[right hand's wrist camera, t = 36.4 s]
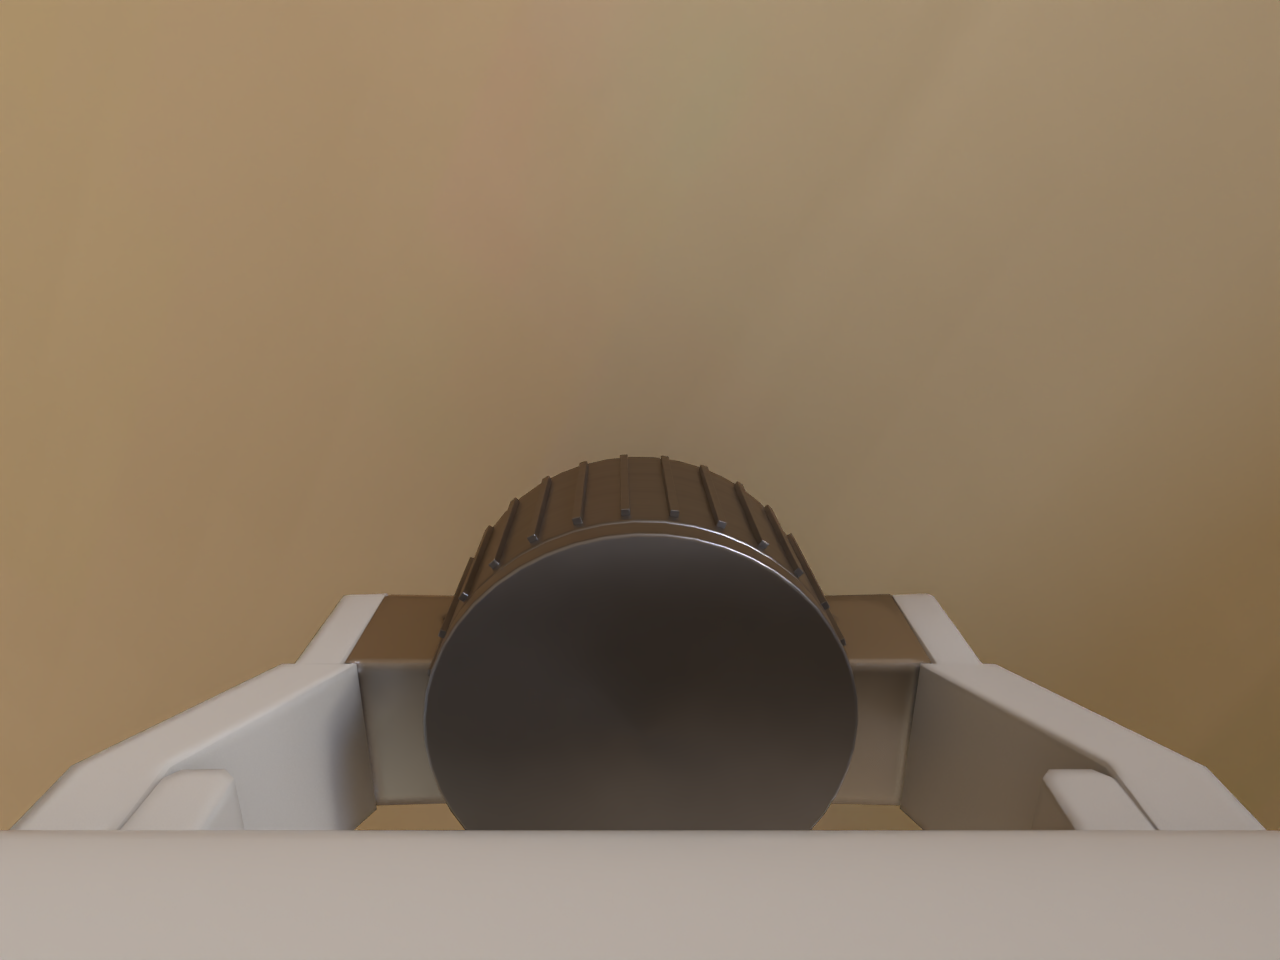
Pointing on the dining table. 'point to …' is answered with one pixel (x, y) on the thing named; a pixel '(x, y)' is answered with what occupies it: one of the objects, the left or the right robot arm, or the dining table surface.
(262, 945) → the right robot arm
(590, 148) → the dining table surface
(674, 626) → the cap
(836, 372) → the dining table surface
